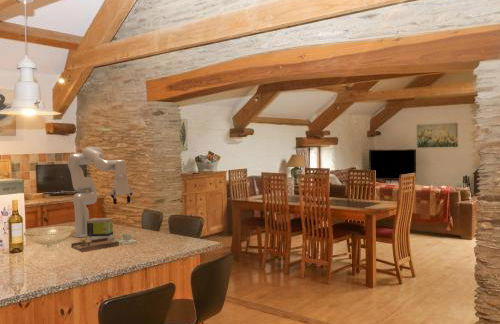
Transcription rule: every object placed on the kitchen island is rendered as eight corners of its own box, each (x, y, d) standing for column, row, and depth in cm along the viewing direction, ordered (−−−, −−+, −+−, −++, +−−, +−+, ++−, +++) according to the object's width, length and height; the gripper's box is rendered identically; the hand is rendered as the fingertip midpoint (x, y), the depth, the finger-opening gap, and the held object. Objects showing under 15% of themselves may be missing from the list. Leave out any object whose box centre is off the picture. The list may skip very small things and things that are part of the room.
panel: (113, 241, 310) (113, 234, 310) (127, 239, 317) (126, 232, 317) (123, 245, 300) (122, 237, 300) (136, 242, 307) (136, 235, 307)
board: (71, 247, 295) (71, 239, 295) (106, 241, 311) (106, 234, 311) (82, 252, 282) (82, 243, 282) (118, 245, 298) (118, 237, 298)
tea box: (113, 238, 322) (113, 217, 321) (108, 241, 312) (107, 220, 311) (92, 238, 323) (92, 217, 322) (86, 241, 313) (86, 220, 312)
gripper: (130, 177, 317) (131, 201, 317) (106, 178, 306) (107, 204, 306) (135, 177, 311) (136, 202, 312) (111, 179, 300) (112, 205, 300)
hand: (122, 203), depth 309 cm, fingers open, 9 cm apart
